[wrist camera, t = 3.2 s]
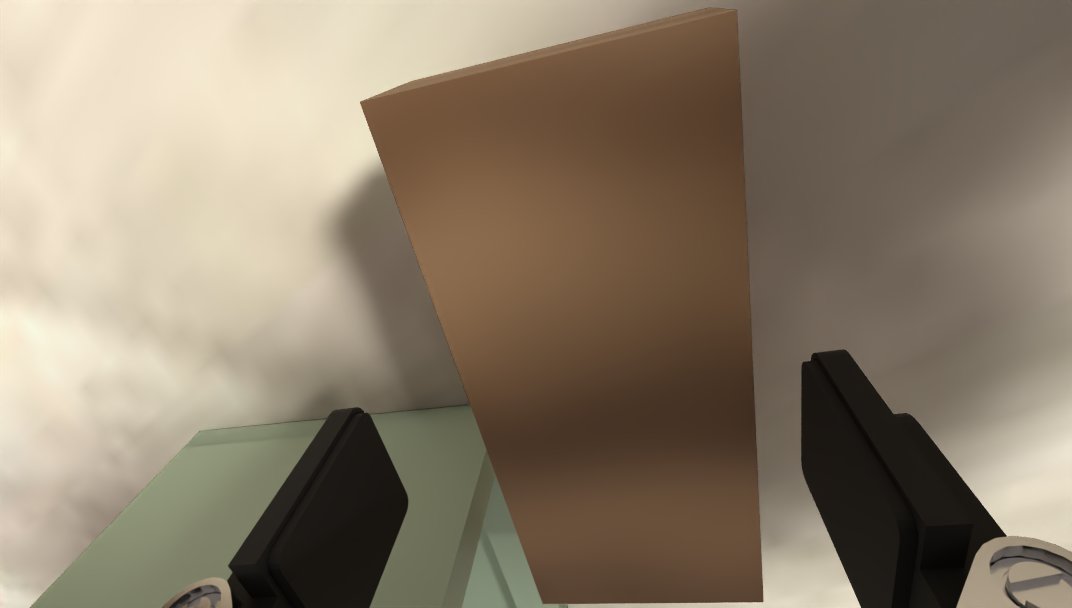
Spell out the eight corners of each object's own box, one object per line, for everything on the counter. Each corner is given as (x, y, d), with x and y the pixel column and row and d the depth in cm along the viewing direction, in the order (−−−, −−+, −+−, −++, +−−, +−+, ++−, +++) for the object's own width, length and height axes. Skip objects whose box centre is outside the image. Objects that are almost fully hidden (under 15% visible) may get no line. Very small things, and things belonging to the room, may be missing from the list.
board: (411, 81, 11) (359, 102, 9) (709, 7, 10) (737, 10, 8) (552, 526, 18) (542, 604, 15) (743, 518, 16) (763, 602, 14)
